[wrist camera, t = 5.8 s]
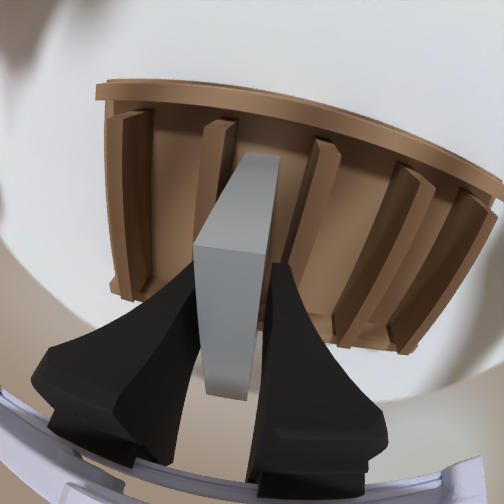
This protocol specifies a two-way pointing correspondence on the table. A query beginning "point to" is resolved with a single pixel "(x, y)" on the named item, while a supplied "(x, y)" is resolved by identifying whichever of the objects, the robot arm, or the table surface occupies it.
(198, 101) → the dish rack
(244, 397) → the grey upright slab
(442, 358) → the table surface
